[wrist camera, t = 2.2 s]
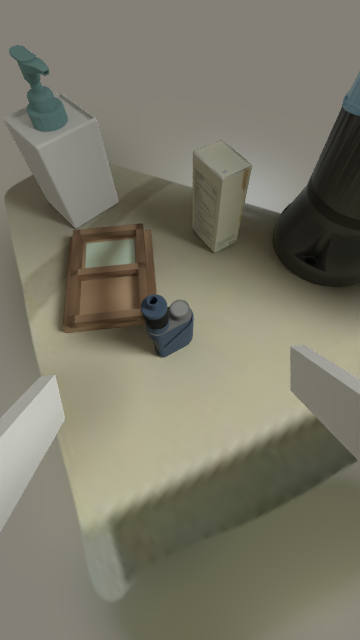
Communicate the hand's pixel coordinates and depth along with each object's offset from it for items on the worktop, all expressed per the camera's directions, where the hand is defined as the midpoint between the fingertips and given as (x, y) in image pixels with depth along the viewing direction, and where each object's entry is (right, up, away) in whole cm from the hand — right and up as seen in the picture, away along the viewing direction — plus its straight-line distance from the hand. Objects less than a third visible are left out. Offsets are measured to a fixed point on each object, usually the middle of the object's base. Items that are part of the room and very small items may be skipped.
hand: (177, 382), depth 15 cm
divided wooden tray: (-9, +9, +24) cm, 27 cm away
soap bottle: (-16, +23, +31) cm, 42 cm away
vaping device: (-1, 0, +20) cm, 20 cm away
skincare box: (+5, +17, +27) cm, 32 cm away
